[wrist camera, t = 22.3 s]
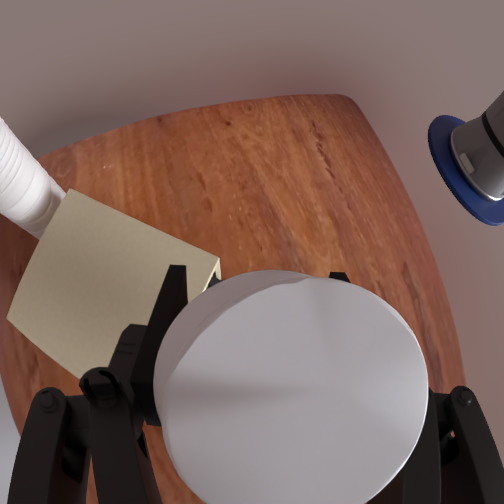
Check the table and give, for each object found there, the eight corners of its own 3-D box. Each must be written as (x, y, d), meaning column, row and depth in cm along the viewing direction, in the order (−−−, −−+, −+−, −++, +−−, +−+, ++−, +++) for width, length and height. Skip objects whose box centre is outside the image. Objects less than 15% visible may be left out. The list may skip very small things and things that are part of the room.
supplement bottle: (322, 385, 16) (486, 441, 4) (222, 432, 15) (219, 590, 2) (276, 288, 17) (380, 173, 5) (174, 332, 16) (47, 307, 4)
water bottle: (85, 229, 30) (-52, 80, 6) (45, 255, 28) (-105, 146, 5) (69, 177, 32) (-28, 35, 8) (33, 202, 30) (-77, 85, 6)
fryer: (221, 280, 30) (219, 257, 21) (167, 398, 26) (145, 419, 17) (102, 222, 30) (69, 187, 22) (52, 326, 26) (6, 318, 18)
